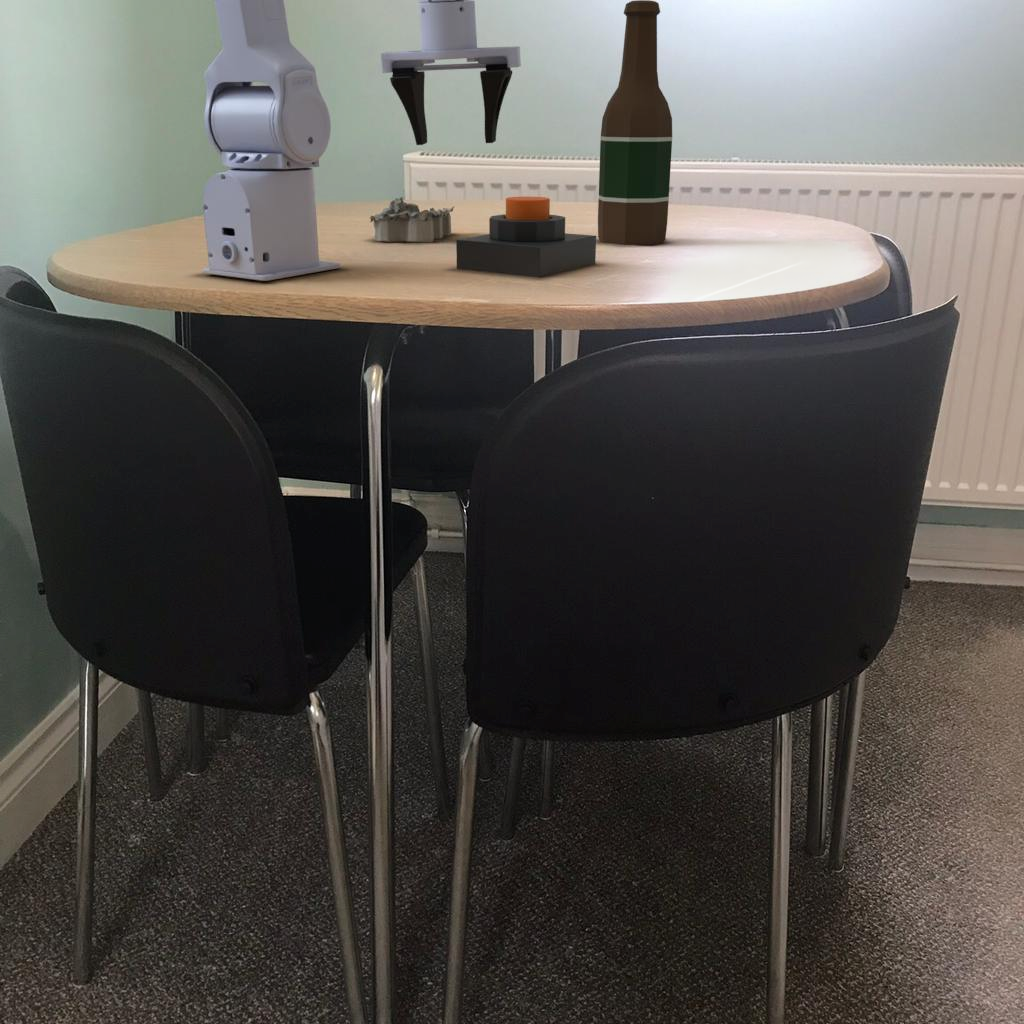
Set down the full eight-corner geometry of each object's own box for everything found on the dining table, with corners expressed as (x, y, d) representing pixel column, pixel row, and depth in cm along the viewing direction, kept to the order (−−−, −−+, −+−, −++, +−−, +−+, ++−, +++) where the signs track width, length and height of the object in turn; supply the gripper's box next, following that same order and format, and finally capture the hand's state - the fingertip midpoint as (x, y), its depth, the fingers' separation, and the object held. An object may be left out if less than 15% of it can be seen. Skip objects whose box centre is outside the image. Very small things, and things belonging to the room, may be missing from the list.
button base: (539, 278, 88) (540, 225, 87) (456, 269, 93) (455, 218, 91) (595, 264, 96) (597, 215, 94) (516, 257, 101) (516, 210, 99)
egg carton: (401, 232, 121) (400, 196, 120) (460, 234, 119) (460, 198, 118) (363, 241, 112) (362, 203, 110) (427, 244, 110) (426, 205, 108)
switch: (534, 224, 90) (534, 201, 90) (497, 222, 92) (497, 198, 92) (557, 221, 94) (557, 197, 93) (521, 218, 96) (521, 195, 95)
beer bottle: (589, 244, 110) (597, -2, 102) (604, 236, 117) (612, 5, 108) (660, 247, 108) (674, -4, 99) (671, 238, 115) (685, 4, 106)
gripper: (523, -2, 106) (528, 136, 112) (390, 5, 108) (401, 140, 114) (510, -2, 99) (516, 144, 105) (369, 6, 102) (383, 148, 108)
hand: (456, 143), depth 109 cm, fingers open, 7 cm apart
